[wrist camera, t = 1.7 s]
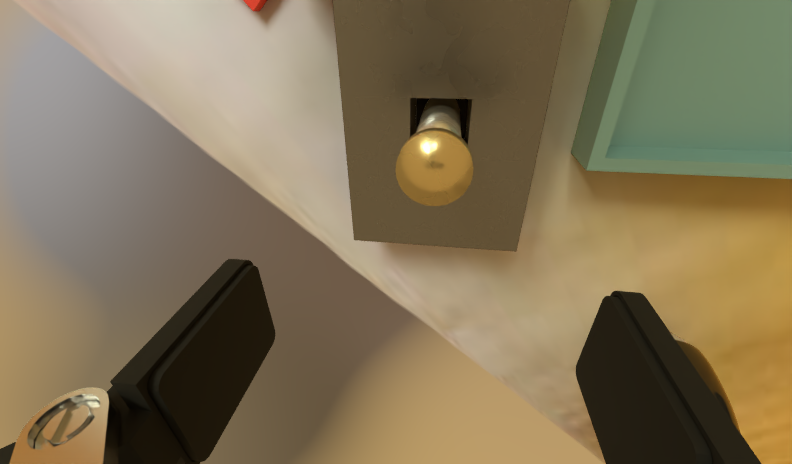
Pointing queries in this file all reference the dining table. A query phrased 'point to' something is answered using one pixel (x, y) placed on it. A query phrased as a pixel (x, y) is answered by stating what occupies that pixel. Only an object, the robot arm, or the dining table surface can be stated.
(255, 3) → the bracket
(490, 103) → the grey-brown socket block
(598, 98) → the tray
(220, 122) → the dining table surface
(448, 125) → the pin
